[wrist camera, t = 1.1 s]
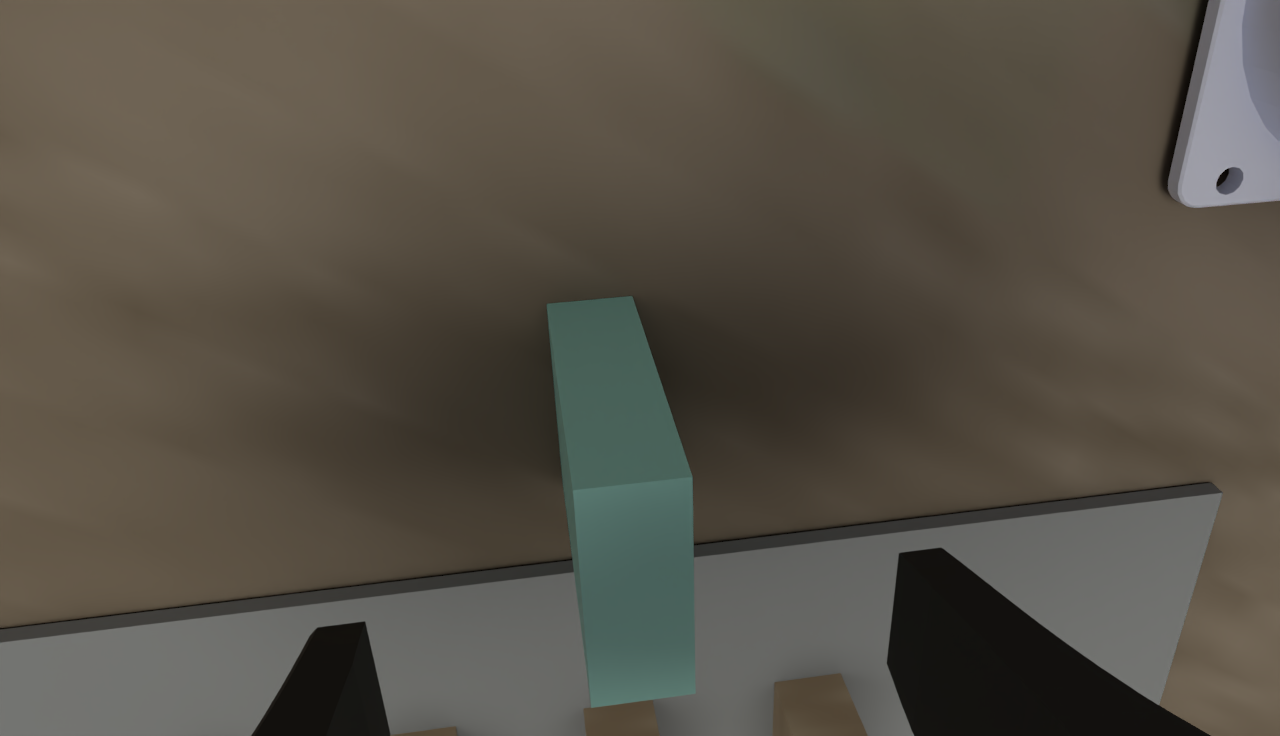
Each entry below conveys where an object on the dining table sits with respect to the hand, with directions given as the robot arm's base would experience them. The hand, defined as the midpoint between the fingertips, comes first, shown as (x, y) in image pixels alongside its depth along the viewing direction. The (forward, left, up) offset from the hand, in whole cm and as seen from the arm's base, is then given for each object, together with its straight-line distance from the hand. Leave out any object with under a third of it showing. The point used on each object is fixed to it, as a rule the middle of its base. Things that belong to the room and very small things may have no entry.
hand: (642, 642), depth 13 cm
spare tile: (0, 0, -7) cm, 7 cm away
